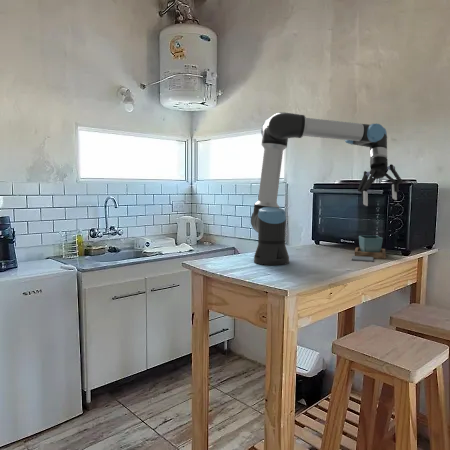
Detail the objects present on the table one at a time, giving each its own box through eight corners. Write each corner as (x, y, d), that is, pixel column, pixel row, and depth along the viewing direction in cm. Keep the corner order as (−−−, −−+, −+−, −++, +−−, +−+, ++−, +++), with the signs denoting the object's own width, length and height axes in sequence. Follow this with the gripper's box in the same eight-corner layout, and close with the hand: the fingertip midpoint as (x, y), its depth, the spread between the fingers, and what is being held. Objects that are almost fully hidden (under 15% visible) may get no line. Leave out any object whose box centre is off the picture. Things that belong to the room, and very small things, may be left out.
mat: (351, 260, 180) (351, 259, 180) (352, 256, 189) (352, 255, 189) (373, 261, 177) (373, 260, 177) (373, 258, 186) (373, 256, 186)
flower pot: (382, 257, 188) (383, 237, 187) (363, 257, 188) (364, 238, 187) (376, 253, 197) (376, 235, 196) (357, 253, 197) (358, 235, 196)
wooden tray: (354, 256, 189) (354, 251, 188) (355, 252, 201) (355, 247, 201) (385, 258, 184) (385, 253, 184) (384, 253, 197) (385, 248, 196)
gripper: (409, 154, 181) (411, 199, 175) (358, 168, 199) (358, 209, 193) (401, 148, 177) (403, 193, 170) (350, 163, 194) (350, 204, 188)
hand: (379, 202), depth 182 cm, fingers open, 13 cm apart
